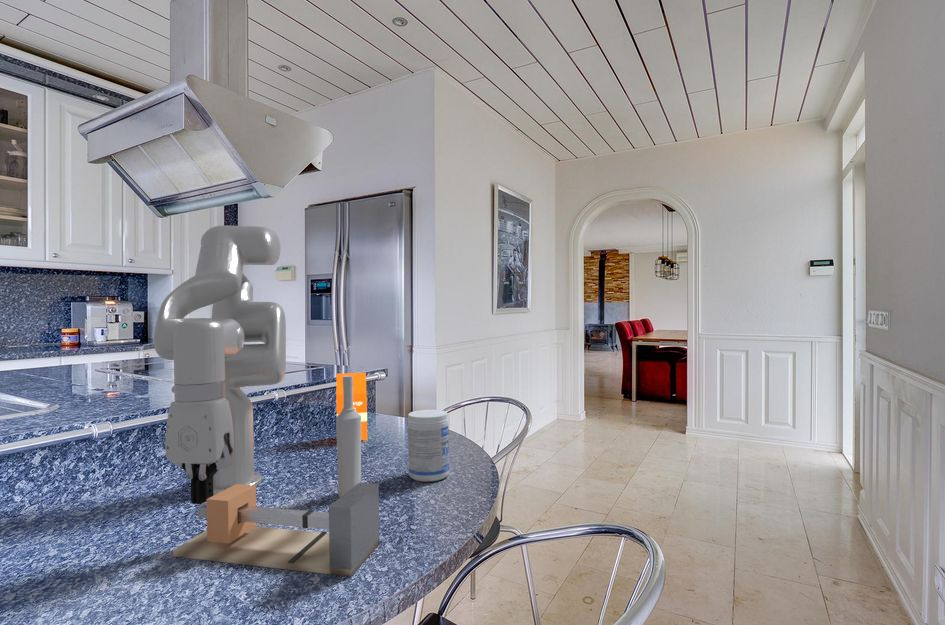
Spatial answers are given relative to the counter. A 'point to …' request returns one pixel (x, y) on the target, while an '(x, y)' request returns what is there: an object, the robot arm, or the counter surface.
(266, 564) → the base board
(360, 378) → the orange juice
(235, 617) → the counter surface
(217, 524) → the tan notched block
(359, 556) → the slider rail assembly
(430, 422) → the supplement tub
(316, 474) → the counter surface
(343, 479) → the bottle
